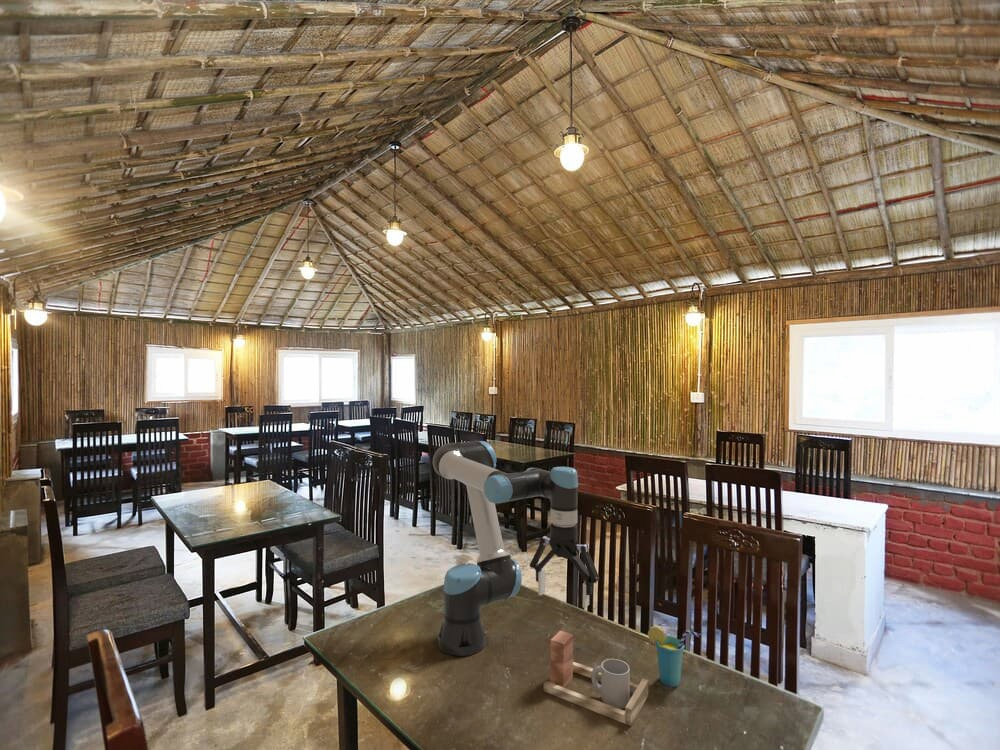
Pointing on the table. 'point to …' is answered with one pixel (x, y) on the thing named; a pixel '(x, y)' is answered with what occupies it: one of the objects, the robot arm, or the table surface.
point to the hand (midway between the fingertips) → (563, 599)
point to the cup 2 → (669, 655)
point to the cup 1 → (613, 682)
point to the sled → (564, 671)
